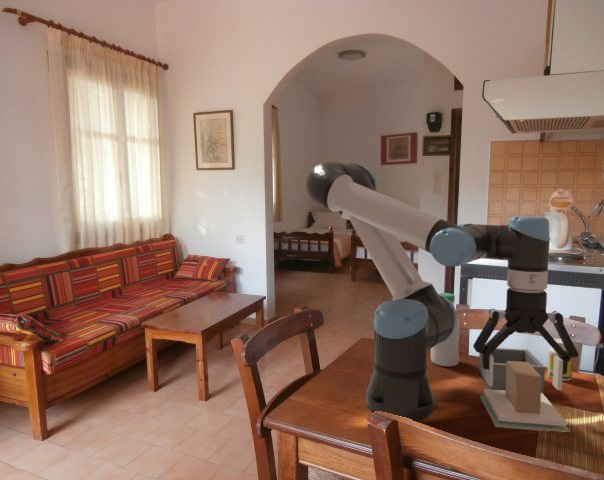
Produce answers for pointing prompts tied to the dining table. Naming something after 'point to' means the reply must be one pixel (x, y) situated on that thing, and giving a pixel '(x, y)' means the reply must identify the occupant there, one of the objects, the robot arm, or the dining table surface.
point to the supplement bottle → (551, 361)
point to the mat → (517, 424)
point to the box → (500, 366)
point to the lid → (523, 398)
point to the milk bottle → (447, 344)
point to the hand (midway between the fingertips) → (522, 385)
